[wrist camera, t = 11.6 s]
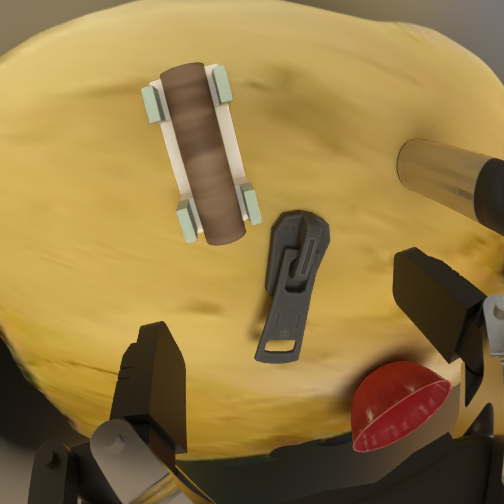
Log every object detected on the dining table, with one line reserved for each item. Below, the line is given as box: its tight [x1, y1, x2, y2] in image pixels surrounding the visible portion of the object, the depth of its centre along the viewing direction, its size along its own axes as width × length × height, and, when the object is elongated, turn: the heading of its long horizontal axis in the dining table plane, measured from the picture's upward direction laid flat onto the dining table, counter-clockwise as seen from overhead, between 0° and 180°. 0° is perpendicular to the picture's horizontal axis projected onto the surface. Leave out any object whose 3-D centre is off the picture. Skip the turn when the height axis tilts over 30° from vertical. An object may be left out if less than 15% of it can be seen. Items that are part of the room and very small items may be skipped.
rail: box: [160, 63, 246, 246], centre depth 30 cm, size 20×5×5 cm, turn 13°
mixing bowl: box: [351, 361, 451, 452], centre depth 59 cm, size 28×28×15 cm
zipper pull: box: [254, 210, 330, 364], centre depth 45 cm, size 9×7×25 cm
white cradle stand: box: [141, 63, 262, 244], centre depth 32 cm, size 22×9×9 cm, turn 13°
